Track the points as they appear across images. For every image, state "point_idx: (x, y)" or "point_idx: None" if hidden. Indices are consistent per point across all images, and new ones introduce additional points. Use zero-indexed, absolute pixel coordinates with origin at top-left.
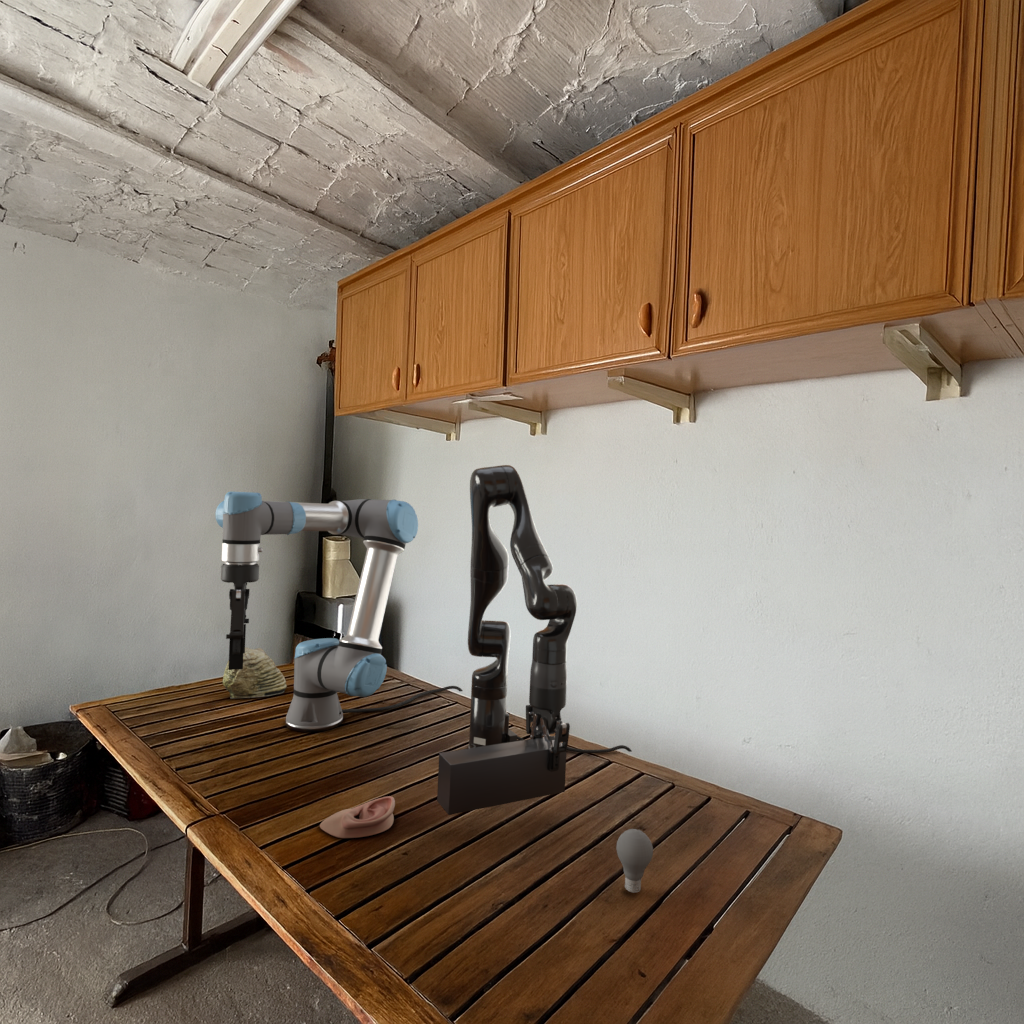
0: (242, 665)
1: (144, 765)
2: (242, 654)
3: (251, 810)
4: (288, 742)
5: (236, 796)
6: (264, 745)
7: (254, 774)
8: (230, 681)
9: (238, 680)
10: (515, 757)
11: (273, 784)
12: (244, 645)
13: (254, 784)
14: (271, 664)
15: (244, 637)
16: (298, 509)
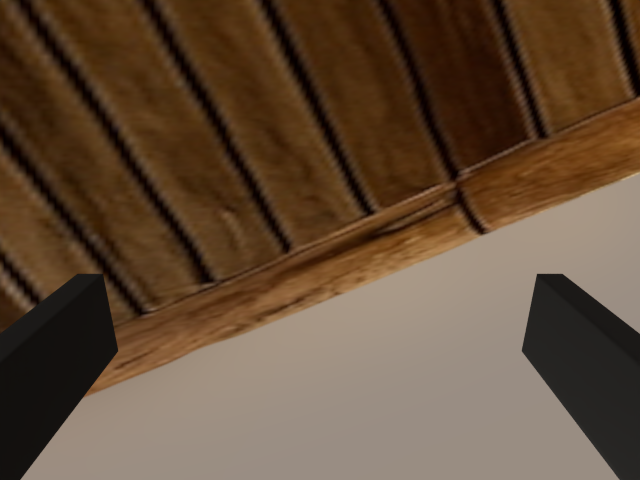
0: (575, 287)
1: (175, 340)
2: (634, 336)
3: (467, 116)
4: (57, 12)
5: (385, 151)
6: (77, 87)
7: (273, 112)
8: None
9: None
10: None
11: (346, 64)
12: (69, 307)
13: (333, 111)
14: None
15: (24, 352)
16: None
